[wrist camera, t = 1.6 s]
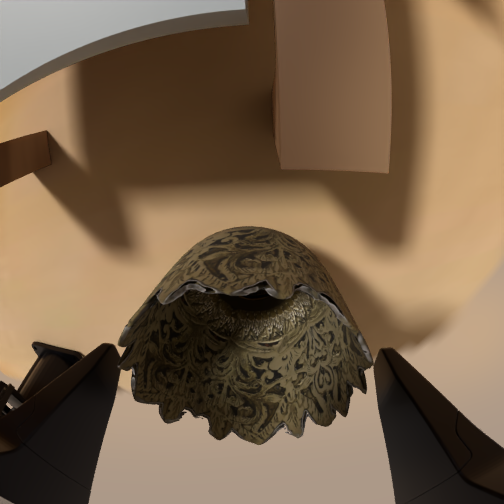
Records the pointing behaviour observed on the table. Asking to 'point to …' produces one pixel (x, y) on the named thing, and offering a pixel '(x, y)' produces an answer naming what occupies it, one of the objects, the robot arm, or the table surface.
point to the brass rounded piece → (246, 338)
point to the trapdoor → (93, 30)
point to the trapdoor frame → (304, 91)
